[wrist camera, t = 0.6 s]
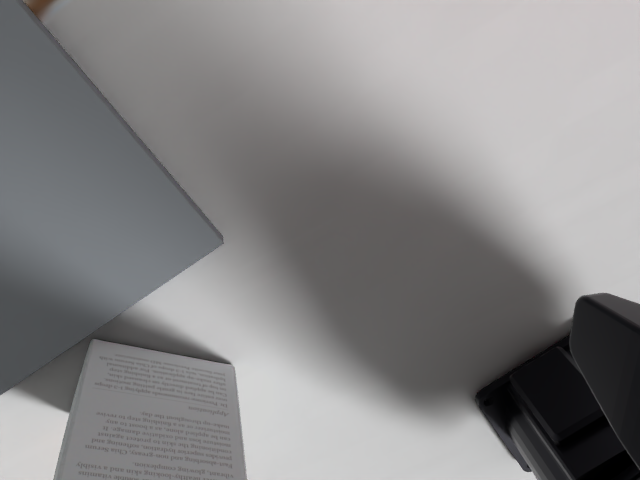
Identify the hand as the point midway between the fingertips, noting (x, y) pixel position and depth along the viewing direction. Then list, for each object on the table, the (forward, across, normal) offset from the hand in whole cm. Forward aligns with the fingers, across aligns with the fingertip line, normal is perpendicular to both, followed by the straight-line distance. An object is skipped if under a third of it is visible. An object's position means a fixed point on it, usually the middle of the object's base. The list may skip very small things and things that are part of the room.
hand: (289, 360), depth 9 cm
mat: (+14, +10, +3) cm, 17 cm away
